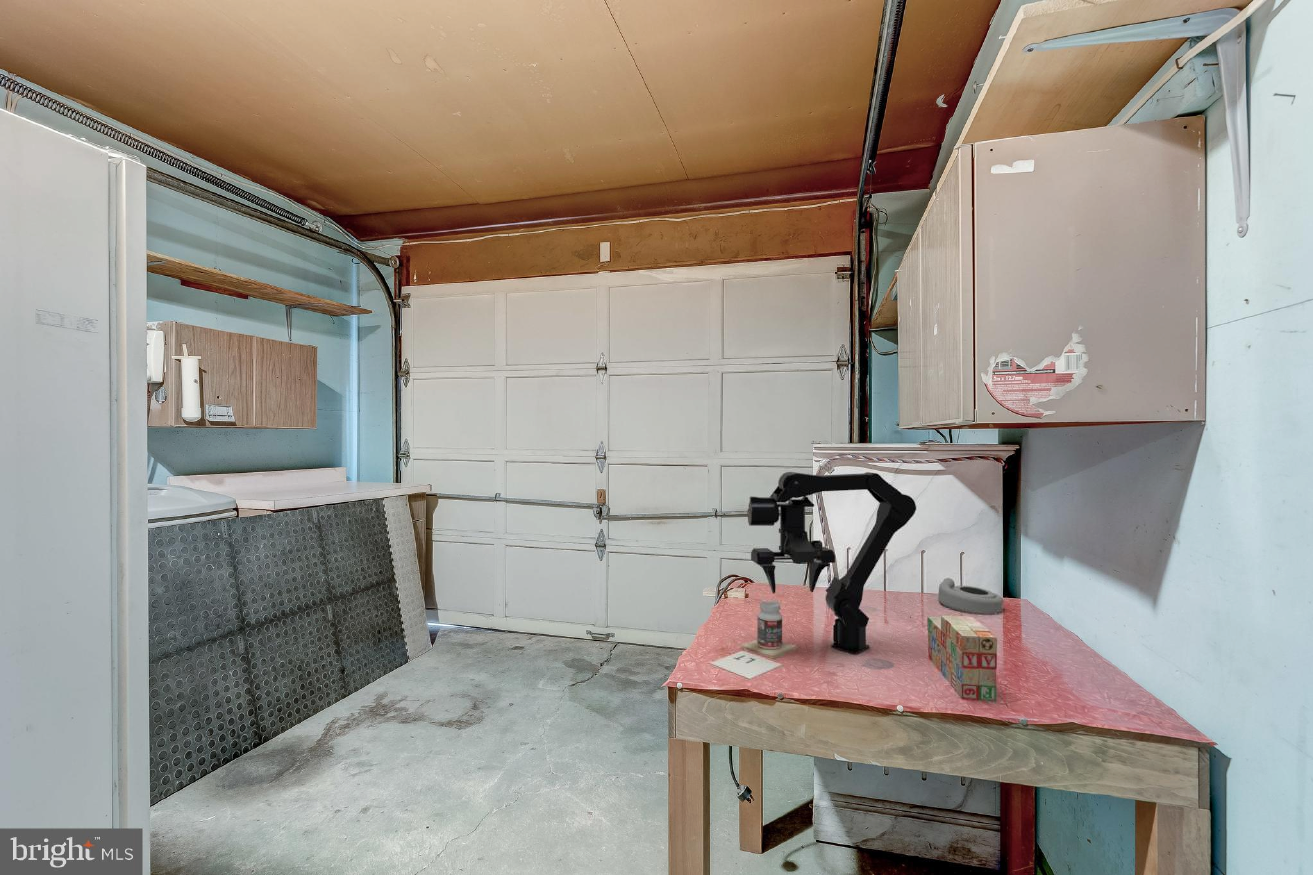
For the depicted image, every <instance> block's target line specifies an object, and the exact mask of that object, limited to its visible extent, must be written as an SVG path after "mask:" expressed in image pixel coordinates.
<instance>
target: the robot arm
mask: <svg viewBox="0 0 1313 875" xmlns="http://www.w3.org/2000/svg"><path fill="white" fill-rule="evenodd" d="M777 484H778V485H777V486H776V488H775V489H774V491H773V492H772V493H771V494H770V496H769V497H768V496H767V497H764V496H763V497H761V496H760V497H759V496H750V497H749V501H748V502H749V503H748V508H747V522H748V525H749V526H756V527H757V526H758V527H759V526H760V527H761V526H762V527H765V526H769V527H771V526H772V527H774V525H775V524H777V523H778V522H779V521H780V523H779V528H778V533H779V535H780V536H779V538H780V540H779V545H778V550H779V551H773V550H771V548H768V547H760V548H759V547H758V548H752V550H751V551H750V561H752V562H754V563H755V564H756V565H759V566H760V567H761V568H762V570H763V572H764V574H765V576H766V579H767V582H768V585H769V587H770V590H771V592H772V593H773V594H776V588H777V587H776V576H775V570H776V568H777V567H776V565H775V564H773V563H774V562H775V561H784V560H785V561H786V560H791V561H792V563H794V564H797V565H800V564H808V586H809V591H810V592H811V593H814V590H815V587H816V586H817V583H818V579H819V577H820V575H821V573H822V571H823V570H824V569H825V568H827V567H830V565H831V564H833V563H836V554H835V552H834V550H833V549H830V548H828V547H826V546H824V545H823V542H822V541H821V540H811V541H809V538H808V537H809V536H808V531H806V508H814V507H815V504H814V503H813V502H812V501H811V500H810V499H809V497H808V496H811V495H812V496H813V495H814V494H817V493H823V492H838V491H839V492H841V491H860V490H861V491H862V490H863V491H865V490H867V492H868V493H870V495H871V496H872V498H874V499H875V500H876V501H877V503H879V505H878V508H877V511H876V518H875V524H874V526H873V527H872V529H871V530H870V532H869V534H868V536H867V538H866V539H865V541H864V543H863V544H862V546H861V548H860V549H859V551H858V553H857V554H856V556H855V558H854V560H853V562H851V565H850V566H849V569H848V570H847V572H846V573H845V575H843V576H842V577H841V578H840V579H839V578H837V577H836V576H833V578H832V579H831V582H830V585H829V586H828V587H827V588H826V589H825V592H826V594H825V597H824V598H825V601H826V605H827V606H828V608H829V609H830V610H831V611H832V612H833V613H834V614H833V615H834V616H835V617H836V618H835V619H834V624H833V626H832V632H833V634H832V637H833V638H832V639H833V640H832V641H833V643H831V645H830V647H831V648H834V649H837V650H841V651H844V652H847V653H850V654H855V655H857V654H859V653H862V652H863V651H865V650H867V649H870V645H869V644H867V639H866V638H867V626H868V624H869V620H870V618H869V617H868V616H867V614H866V613H865V612H863V611H862V609H861V608H860V607H861V606H860V605H861V604H862V600H863V595H864V587H865V585H866V584H867V581H868V579H869V578H870V576H871V574H872V572H873V571H874V570H875V568H876V566H877V564H878V562H879V560H880V559H881V557H882V555H883V554H884V552H885V550H886V549H887V546H888V545H889V543H890V541H891V539H892V538H893V536H894V535H895V534H896V532H898V531H899V530H900V529H902V528H904V527H905V526H906V524H907V523H908V522H909V521H910V520H911V519H912V518H913V516H914V515H915V514H916V511H917V505H916V502H915V500H914V498H912V497H911V496H910V495H907V494H905V493H904V494H903V493H902V492H901V491H899V490H898V489H897V488H895V487H894V486H893V485H892V484H890V483H889V482H888V481H886V480H885V479H884V478H883V477H882V476H881V475H880V474H878V473H876V472H869V471H867V472H864V473H844V474H821V475H820V474H819V475H818V474H817V475H816V474H811V473H801V472H794V471H786V472H784V473H782V474H781V475H780V477H779V480H778V483H777ZM799 498H800V499H799Z"/></svg>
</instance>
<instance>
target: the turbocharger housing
mask: <svg viewBox="0 0 1313 875" xmlns="http://www.w3.org/2000/svg"><path fill="white" fill-rule="evenodd" d="M955 584H956V583H955V581H954V580H953V579H952V578H949V577H946V578H944V579H943V581H942V582H940V584H939V586H938V597H937V598H938V601H939V603H940V604H941V605H942V604H943V605H942V606H944V607H947V609H950V608H951V610H953V609H954V611H956V610H958V611H957V612H960V611H963V612H962V613H965V612H967V613H966V614H971V613H975V614H974V615H983V614H990V615H996V614H995V613H997V614H1000V613H1001V612H1002V611H1003V608H1004V607H1003V606H1004V599H1003V597H1002V596H1000V595H999V594H997V593H995V592H993V591H991V590H989V589H988V590H987V589H986V588H982V587H977V586H971V585H955Z"/></svg>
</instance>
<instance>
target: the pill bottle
mask: <svg viewBox="0 0 1313 875" xmlns="http://www.w3.org/2000/svg"><path fill="white" fill-rule="evenodd" d="M759 602H760V603H759V609H760V611H758V613H757V616H756V618H757V622H756V623H757V627H756V628H757V632H756V633H757V639H756V640H757V643H758V645H759V646H760V647H761V648H764V649H771V650H773V649H779V648H780V647H781V646H782V642H783V615H782V613H781V612H780V610H781V603H780V602H778V601H773V600H763V601H759Z"/></svg>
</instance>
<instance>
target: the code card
mask: <svg viewBox="0 0 1313 875" xmlns="http://www.w3.org/2000/svg"><path fill="white" fill-rule="evenodd" d="M709 664H710V665H712V666H715V667H717V668H721V669H723V670H725V671H728V672H731V673H733V674H734V675H738V676H741V677H742V678H746V679H748V680H751V679H753V678H756V677H758V676H760V675H763V674H765V673H767V672H770V671H772V670H774V669H776V668H779V667H781V666H782V665H783V664H782V663H778V662H777V661H773V660H770V659H767V658H764V657H762V656H759V655H756V654H754V653H751V652H747V651H744V650H741V651H739V652H736V653H733V654H731V655H728V656H725V657H722V658H720V659H717V660H715V661H712V662H710V663H709Z"/></svg>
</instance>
